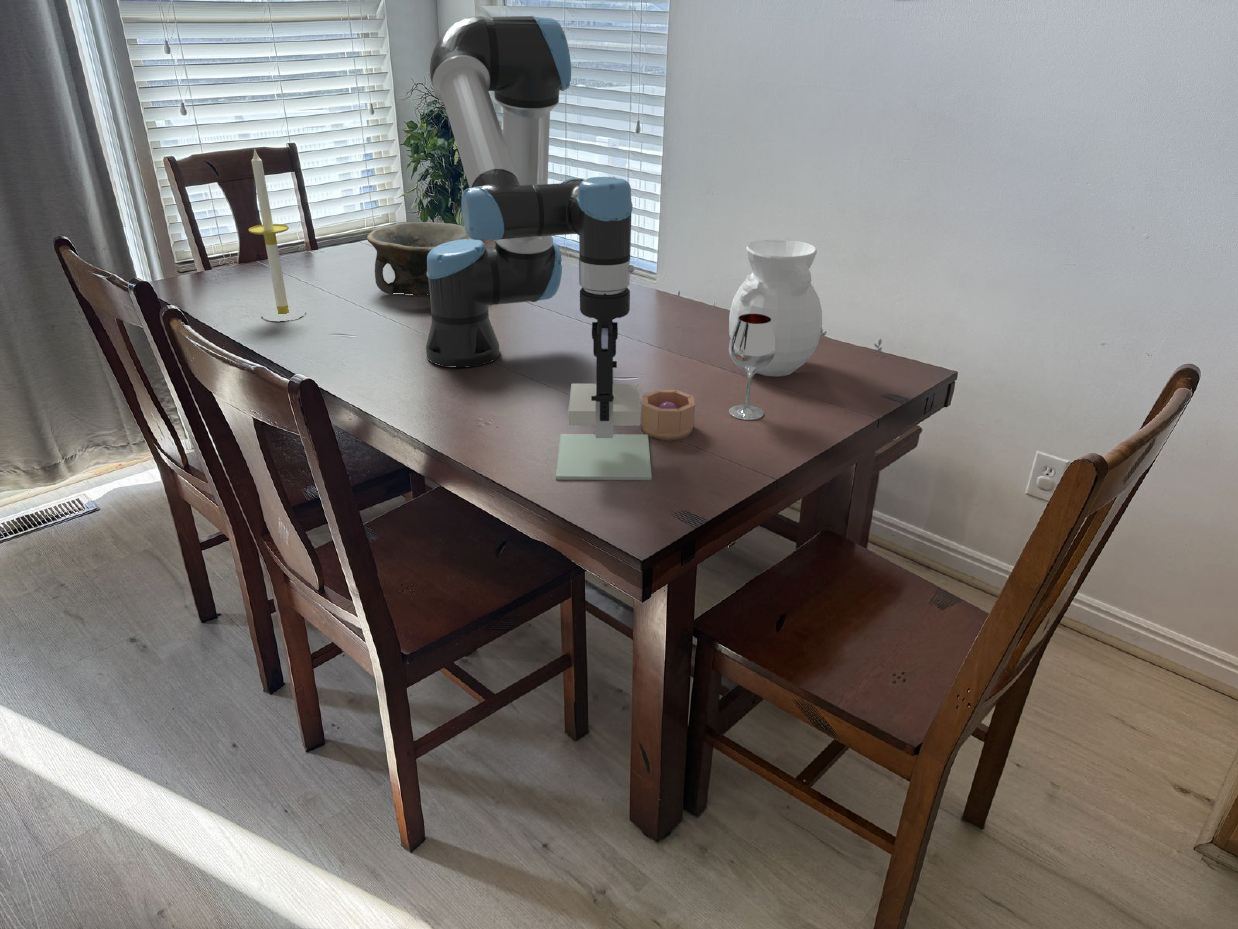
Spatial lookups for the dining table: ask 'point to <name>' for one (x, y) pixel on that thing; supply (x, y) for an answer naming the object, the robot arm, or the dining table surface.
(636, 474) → the mat
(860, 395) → the dining table surface
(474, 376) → the dining table surface
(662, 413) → the pot
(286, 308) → the candle
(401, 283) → the bowl
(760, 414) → the wineglass
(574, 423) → the lid
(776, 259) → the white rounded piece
